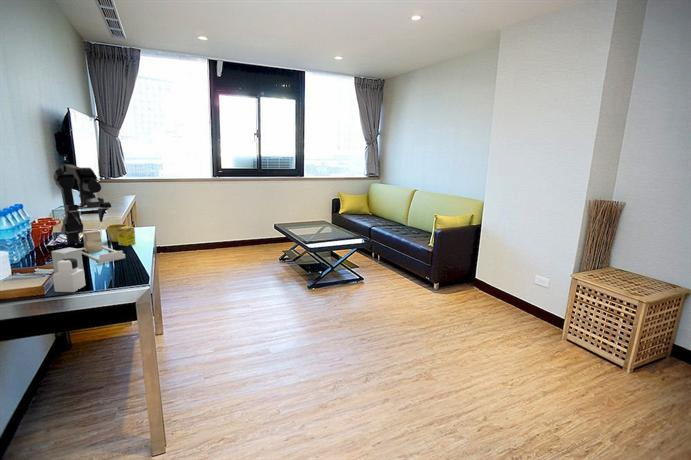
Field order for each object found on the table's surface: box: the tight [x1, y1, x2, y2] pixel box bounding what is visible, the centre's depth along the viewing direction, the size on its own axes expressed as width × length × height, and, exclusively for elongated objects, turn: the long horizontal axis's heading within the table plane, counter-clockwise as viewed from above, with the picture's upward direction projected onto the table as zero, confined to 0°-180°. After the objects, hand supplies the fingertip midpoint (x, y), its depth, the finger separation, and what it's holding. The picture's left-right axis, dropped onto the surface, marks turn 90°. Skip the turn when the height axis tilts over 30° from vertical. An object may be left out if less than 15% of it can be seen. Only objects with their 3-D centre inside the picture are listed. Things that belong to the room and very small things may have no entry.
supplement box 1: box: [50, 246, 84, 274], centre depth 146 cm, size 7×7×13 cm
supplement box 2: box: [117, 225, 136, 247], centre depth 197 cm, size 6×6×11 cm
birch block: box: [82, 229, 103, 254], centre depth 182 cm, size 5×6×10 cm
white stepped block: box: [52, 258, 87, 293], centre depth 137 cm, size 7×7×12 cm
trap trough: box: [78, 244, 126, 264], centre depth 179 cm, size 26×12×4 cm, turn 57°
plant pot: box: [106, 223, 128, 243], centre depth 204 cm, size 10×10×10 cm
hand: (91, 223), depth 180 cm, fingers open, 9 cm apart
